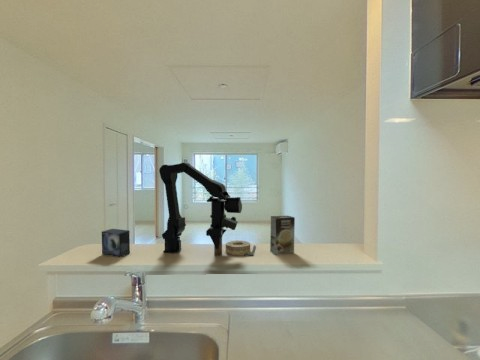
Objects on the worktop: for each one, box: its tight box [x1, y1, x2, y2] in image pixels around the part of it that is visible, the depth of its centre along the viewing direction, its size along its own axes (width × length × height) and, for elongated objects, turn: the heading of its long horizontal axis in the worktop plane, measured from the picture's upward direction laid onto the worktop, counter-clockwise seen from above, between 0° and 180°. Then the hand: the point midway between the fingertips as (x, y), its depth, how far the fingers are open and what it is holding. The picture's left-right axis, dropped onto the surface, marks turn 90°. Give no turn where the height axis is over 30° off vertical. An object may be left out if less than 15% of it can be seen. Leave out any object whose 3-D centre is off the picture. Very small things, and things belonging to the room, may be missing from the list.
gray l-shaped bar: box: [243, 245, 256, 257], centre depth 129 cm, size 4×14×1 cm, turn 173°
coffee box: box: [269, 215, 296, 256], centre depth 127 cm, size 9×6×16 cm
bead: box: [225, 240, 251, 256], centre depth 129 cm, size 11×11×4 cm
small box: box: [101, 228, 131, 258], centre depth 124 cm, size 11×6×10 cm, turn 68°
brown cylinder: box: [213, 236, 223, 256], centre depth 124 cm, size 3×3×10 cm
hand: (218, 247), depth 124 cm, fingers closed on brown cylinder, 3 cm apart
